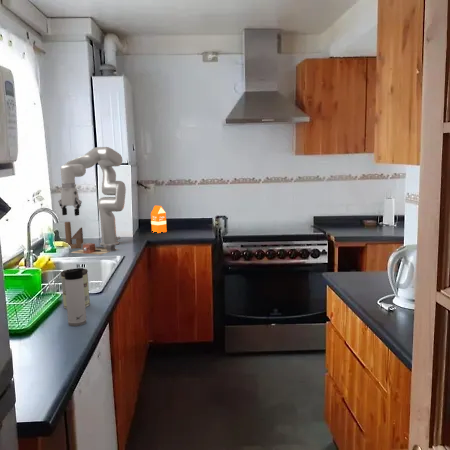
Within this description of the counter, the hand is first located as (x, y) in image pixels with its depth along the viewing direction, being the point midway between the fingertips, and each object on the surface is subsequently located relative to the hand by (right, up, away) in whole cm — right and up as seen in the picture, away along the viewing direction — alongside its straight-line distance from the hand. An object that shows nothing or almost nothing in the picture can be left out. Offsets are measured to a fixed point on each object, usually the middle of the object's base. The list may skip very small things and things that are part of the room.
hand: (70, 215), depth 307 cm
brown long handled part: (-5, -22, +25) cm, 33 cm away
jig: (+11, -23, +12) cm, 28 cm away
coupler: (+9, -22, +8) cm, 25 cm away
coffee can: (+32, -38, -100) cm, 111 cm away
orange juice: (+41, -11, +87) cm, 97 cm away
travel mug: (+39, -41, -122) cm, 134 cm away
